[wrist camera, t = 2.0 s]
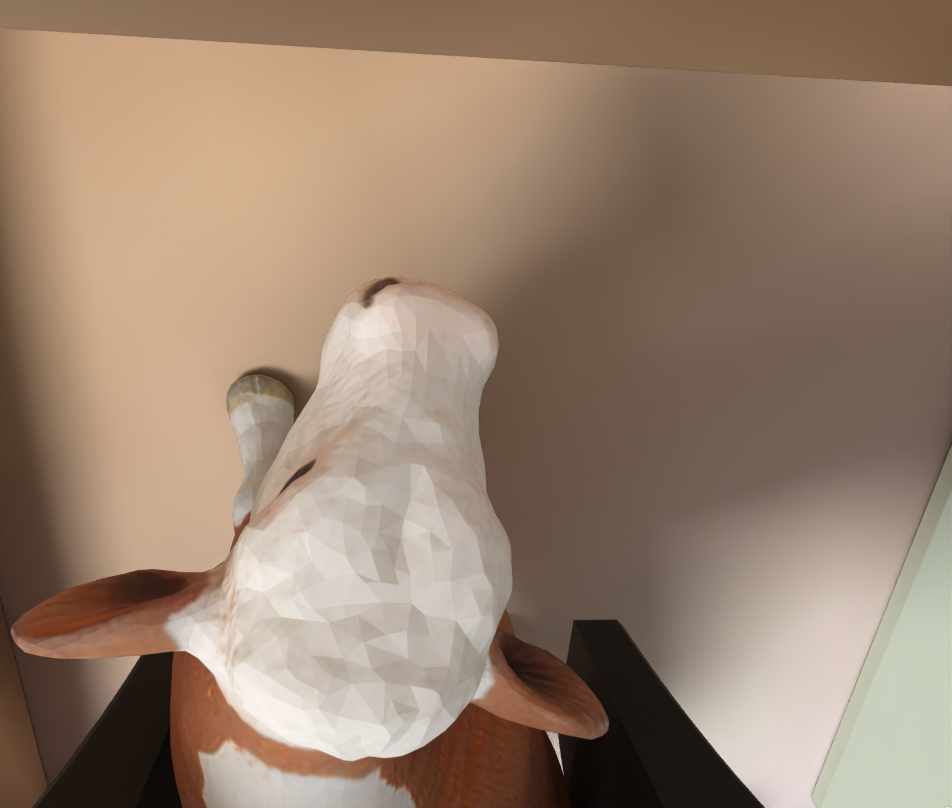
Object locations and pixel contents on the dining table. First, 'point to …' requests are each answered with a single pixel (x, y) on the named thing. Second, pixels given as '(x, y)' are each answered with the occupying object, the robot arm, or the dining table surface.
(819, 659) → the dining table surface
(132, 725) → the robot arm
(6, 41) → the dining table surface
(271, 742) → the bull figurine
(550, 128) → the dining table surface
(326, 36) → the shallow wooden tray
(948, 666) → the felt pad
